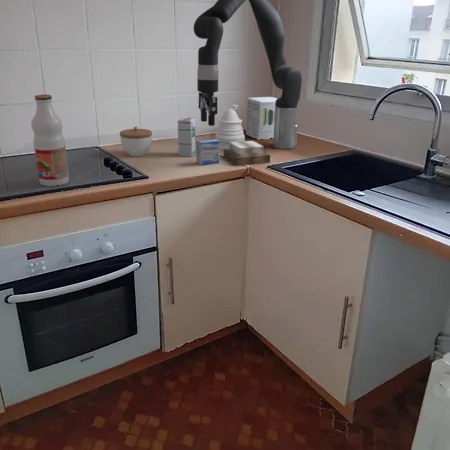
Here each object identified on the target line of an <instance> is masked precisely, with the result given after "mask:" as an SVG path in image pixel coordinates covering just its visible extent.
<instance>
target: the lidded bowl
mask: <svg viewBox="0 0 450 450" xmlns="http://www.w3.org/2000/svg"><path fill="white" fill-rule="evenodd" d="M119 136H120V143H121V147H122V149H123V151H124V152H126V153H127V154H128V156H130V157H143V156H147V153H148V152H149V151H150V150H151V147H152V143H153V142H152V141H153V131H152V130H150V129H147V128H146V129H145V128H138V126H134V127H133V128H128V129H124V130H121V131H120V132H119Z"/></svg>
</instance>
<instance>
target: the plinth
mask: <svg viewBox="0 0 450 450" xmlns="http://www.w3.org/2000/svg"><path fill="white" fill-rule="evenodd" d="M264 149H265V147H264V145H262V144H260V143H258V142H257V141H254V140H247V141H246V140H245V141H243V142H230V149H223V151H222V152H223V153H222V155H223V156H222V157H224V158H225V159H226V160H228V161H229V162H230V163H232V164H234V165H235V166H247V165H257V164H267V163H268V164H269V163H271V154H269V153H267V152H266V151H264Z"/></svg>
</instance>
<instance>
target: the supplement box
mask: <svg viewBox="0 0 450 450" xmlns="http://www.w3.org/2000/svg"><path fill="white" fill-rule="evenodd" d="M278 98H279V97H278ZM278 98H277V97H273V96H259V97H247V98H246V120H245V121H246V122H245V135H247V136H249V137H251V138H254V139H255V138H256V140H257V141H258V140H259V141H261V140H260V139H263V140H271V139H270V138H273V137H274V120H275V102H276V100H277V99H278Z"/></svg>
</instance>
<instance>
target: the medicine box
mask: <svg viewBox="0 0 450 450" xmlns="http://www.w3.org/2000/svg"><path fill="white" fill-rule="evenodd" d="M219 144H220V142H219V141H218V140H216V139H215V138H212V139H211V138H210V139H203V140H202V139H201V140H196V153H195V154H196V159H195V160H196V161H195V162H196V164H199V165H200V166H206V165H214V164H219V163H220V150H219Z"/></svg>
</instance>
